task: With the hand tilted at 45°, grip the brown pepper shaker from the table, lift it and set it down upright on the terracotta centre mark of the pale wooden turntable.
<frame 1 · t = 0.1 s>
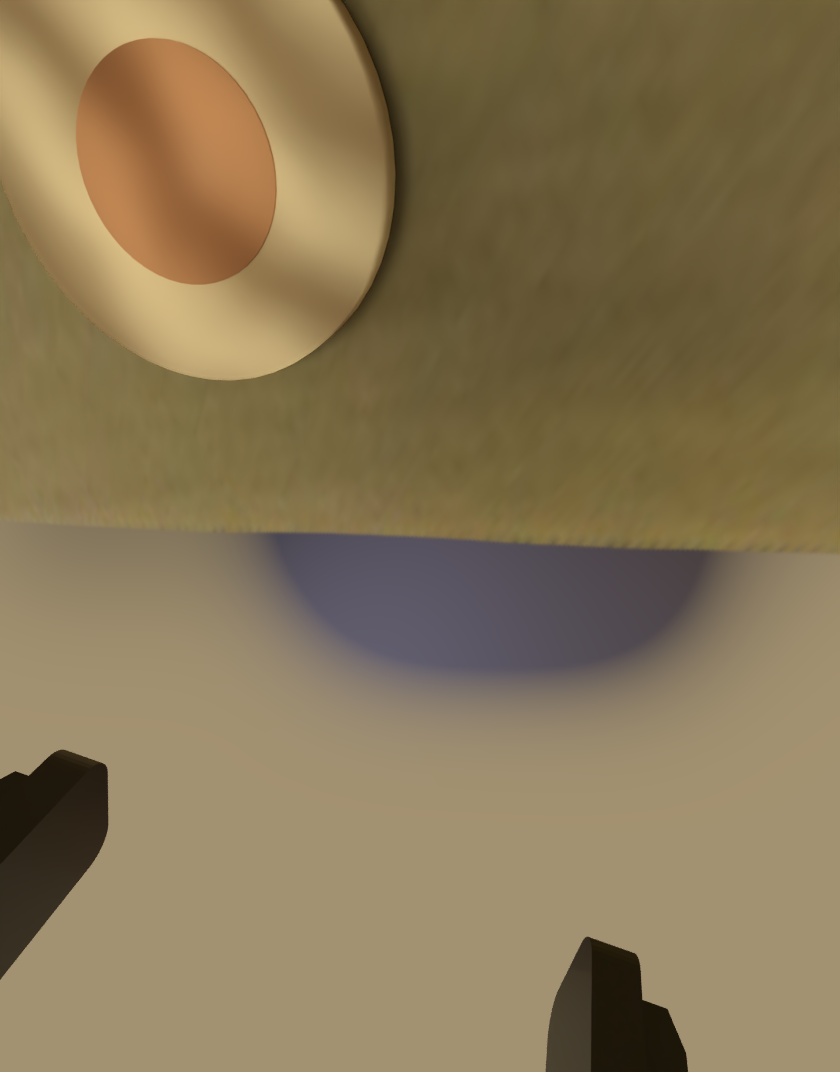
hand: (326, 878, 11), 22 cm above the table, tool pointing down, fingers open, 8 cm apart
turntable: (193, 168, 26), point 1 cm above the table, hinge at 0.0°
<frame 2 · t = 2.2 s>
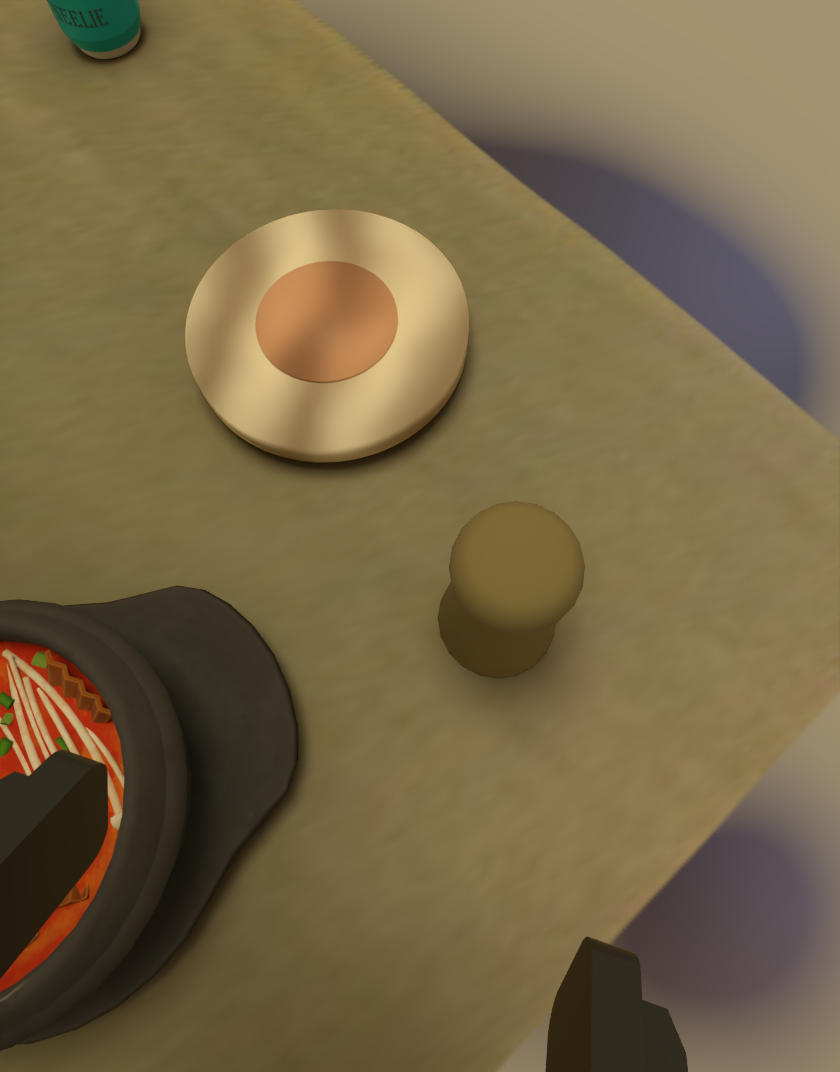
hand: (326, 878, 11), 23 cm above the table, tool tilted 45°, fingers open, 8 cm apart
casserole: (58, 802, 33), on the table
turntable: (330, 334, 40), point 1 cm above the table, hinge at 0.0°
brown pepper shaker: (496, 619, 36), on the table
beverage can: (111, 40, 50), on the table
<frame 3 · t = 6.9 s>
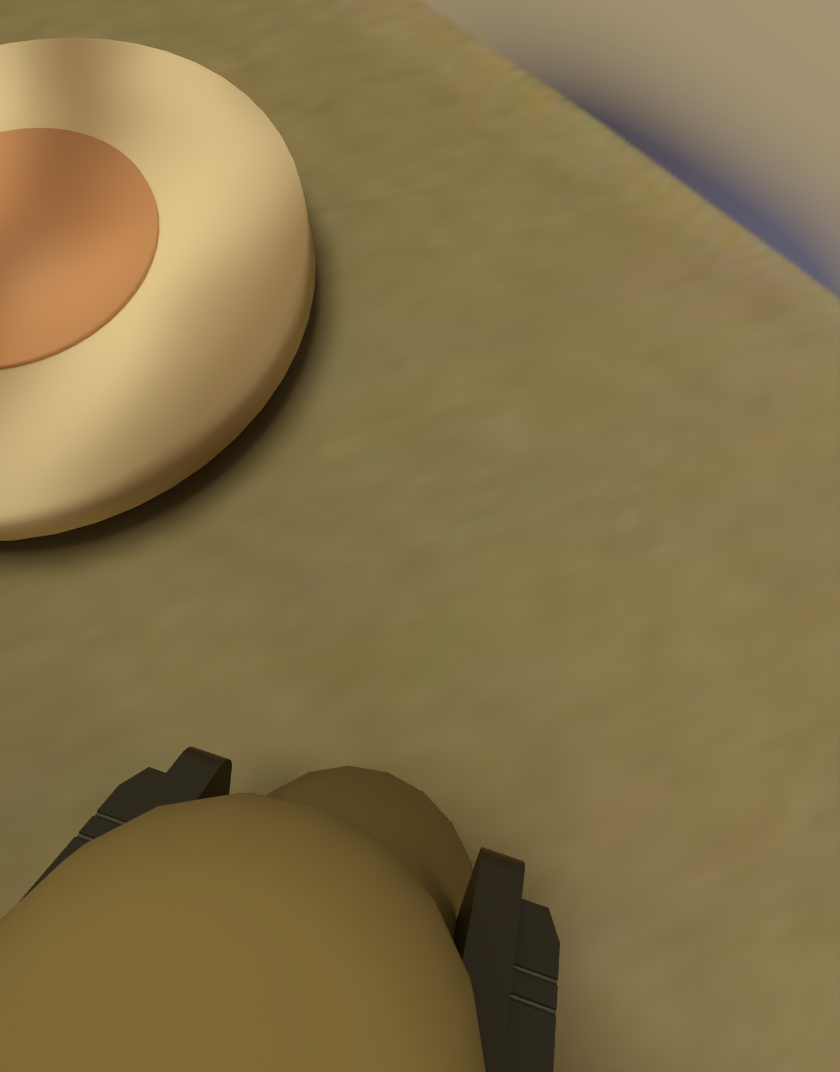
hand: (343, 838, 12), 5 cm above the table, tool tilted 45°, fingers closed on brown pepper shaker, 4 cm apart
turntable: (36, 274, 20), point 1 cm above the table, hinge at 0.0°
brown pepper shaker: (344, 906, 16), on the table, touching gripper
when the fingers open (9 cm above the table, at t = 12.0 s): brown pepper shaker drops 1 cm, resting on turntable.
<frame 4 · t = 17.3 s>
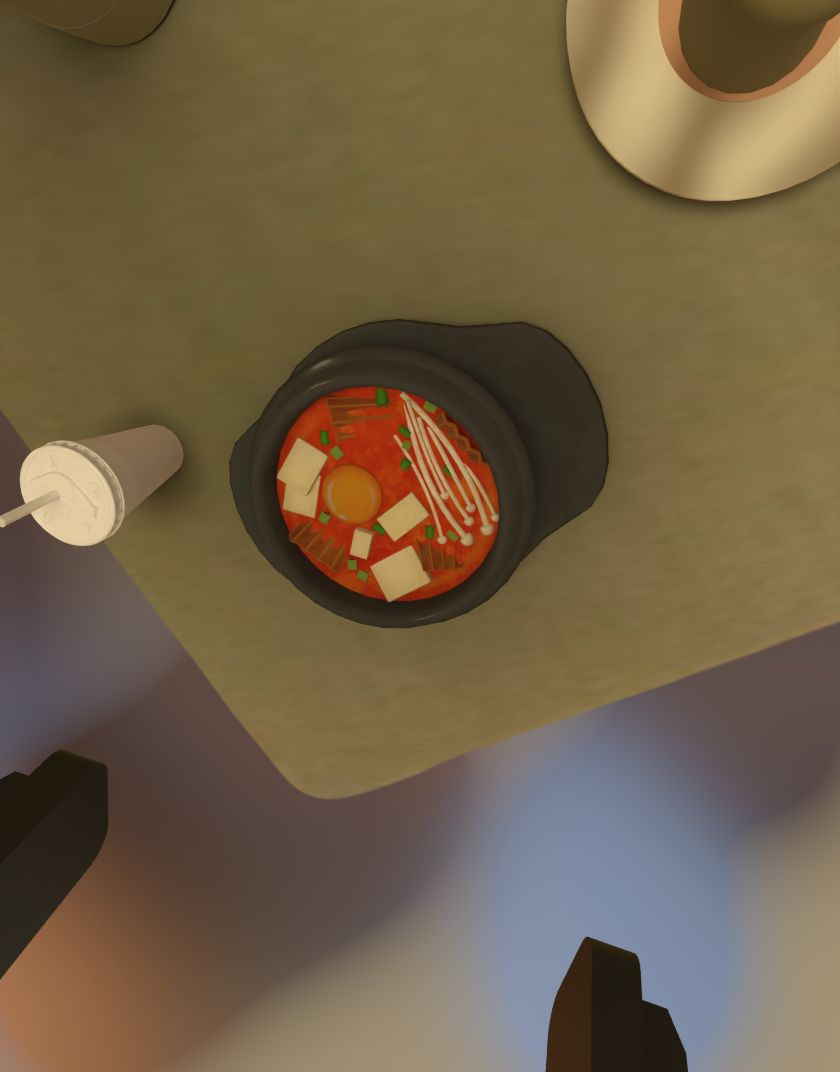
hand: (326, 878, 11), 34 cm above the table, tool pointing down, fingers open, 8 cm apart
casserole: (413, 463, 45), on the table
smoothie: (161, 449, 49), on the table
turntable: (751, 0, 30), point 1 cm above the table, hinge at 0.0°, touching brown pepper shaker
brown pepper shaker: (751, 13, 30), point 3 cm above the table, touching turntable
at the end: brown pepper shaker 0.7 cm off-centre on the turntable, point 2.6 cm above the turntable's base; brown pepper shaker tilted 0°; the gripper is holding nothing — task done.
